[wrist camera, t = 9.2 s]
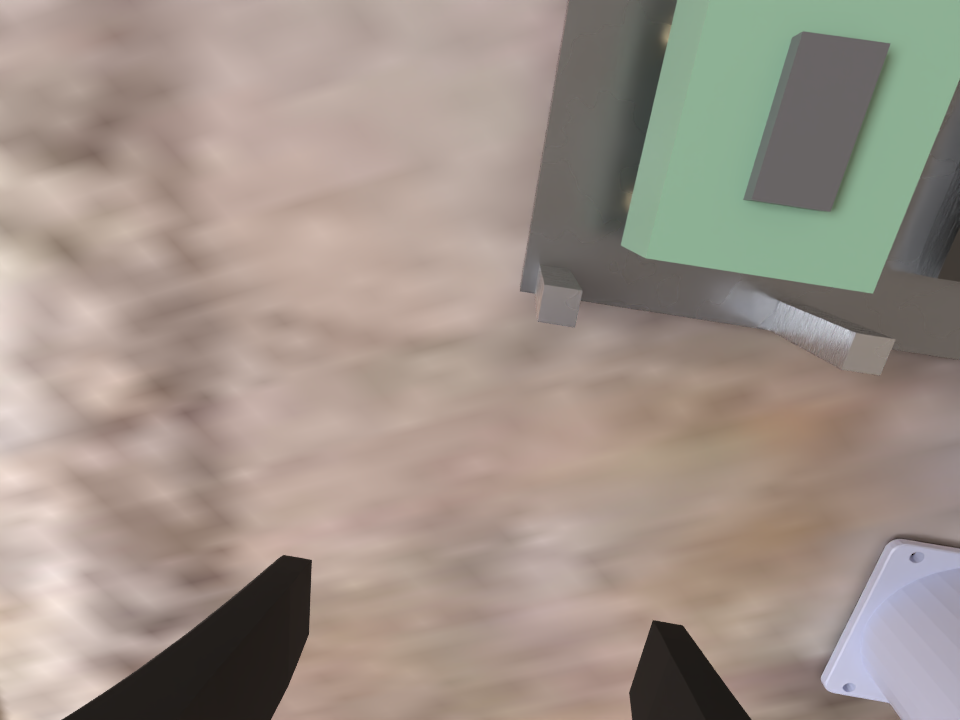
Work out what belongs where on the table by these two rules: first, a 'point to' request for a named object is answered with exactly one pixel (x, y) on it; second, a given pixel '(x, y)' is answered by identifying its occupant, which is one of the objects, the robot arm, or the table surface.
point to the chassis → (698, 290)
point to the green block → (792, 134)
